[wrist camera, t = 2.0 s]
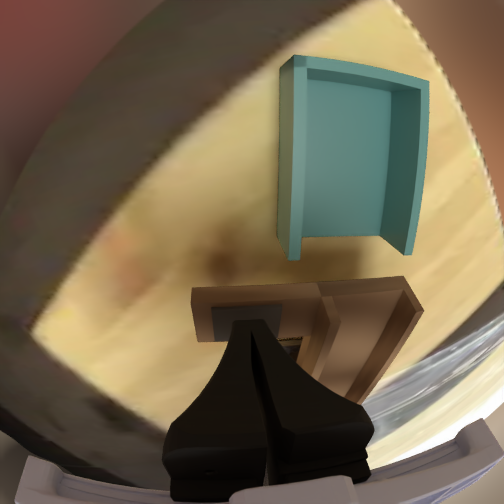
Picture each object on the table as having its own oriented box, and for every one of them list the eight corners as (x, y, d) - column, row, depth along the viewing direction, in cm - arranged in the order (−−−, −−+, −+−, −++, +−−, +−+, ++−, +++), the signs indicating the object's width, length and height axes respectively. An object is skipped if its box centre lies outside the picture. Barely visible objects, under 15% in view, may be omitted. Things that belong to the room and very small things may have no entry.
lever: (336, 409, 26) (341, 432, 24) (217, 421, 25) (218, 446, 23) (411, 275, 15) (432, 309, 13) (192, 287, 14) (188, 331, 12)
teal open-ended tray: (384, 233, 19) (411, 255, 16) (276, 235, 18) (288, 260, 15) (396, 85, 15) (429, 81, 12) (279, 68, 14) (293, 54, 11)
